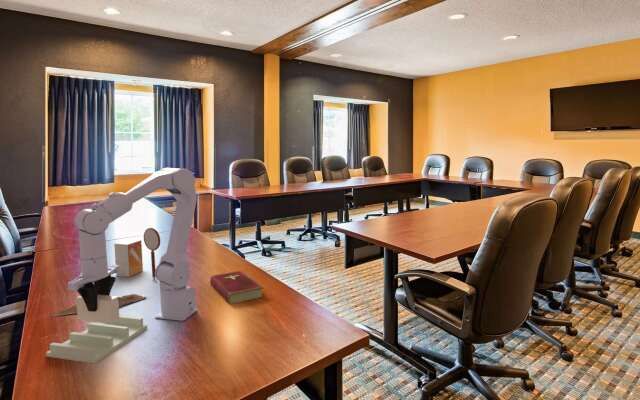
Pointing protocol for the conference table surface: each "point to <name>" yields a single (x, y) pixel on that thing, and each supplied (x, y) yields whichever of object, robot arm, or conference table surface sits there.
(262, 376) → the conference table surface
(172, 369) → the conference table surface
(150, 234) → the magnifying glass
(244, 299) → the hardcover book
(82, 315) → the beige rectangular block
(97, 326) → the rack
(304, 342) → the conference table surface
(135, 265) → the small box
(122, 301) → the wooden fragment
